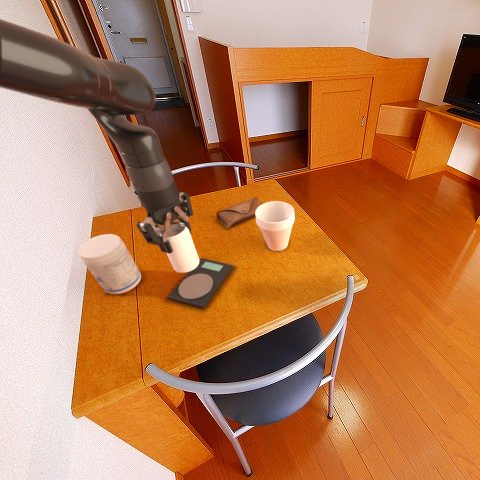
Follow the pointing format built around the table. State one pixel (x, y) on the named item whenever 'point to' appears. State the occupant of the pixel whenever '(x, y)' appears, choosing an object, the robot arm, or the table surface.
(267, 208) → the cup
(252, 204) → the sunglasses case
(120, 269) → the supplement tub
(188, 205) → the robot arm
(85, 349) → the table surface
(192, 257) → the can
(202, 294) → the scale
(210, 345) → the table surface
